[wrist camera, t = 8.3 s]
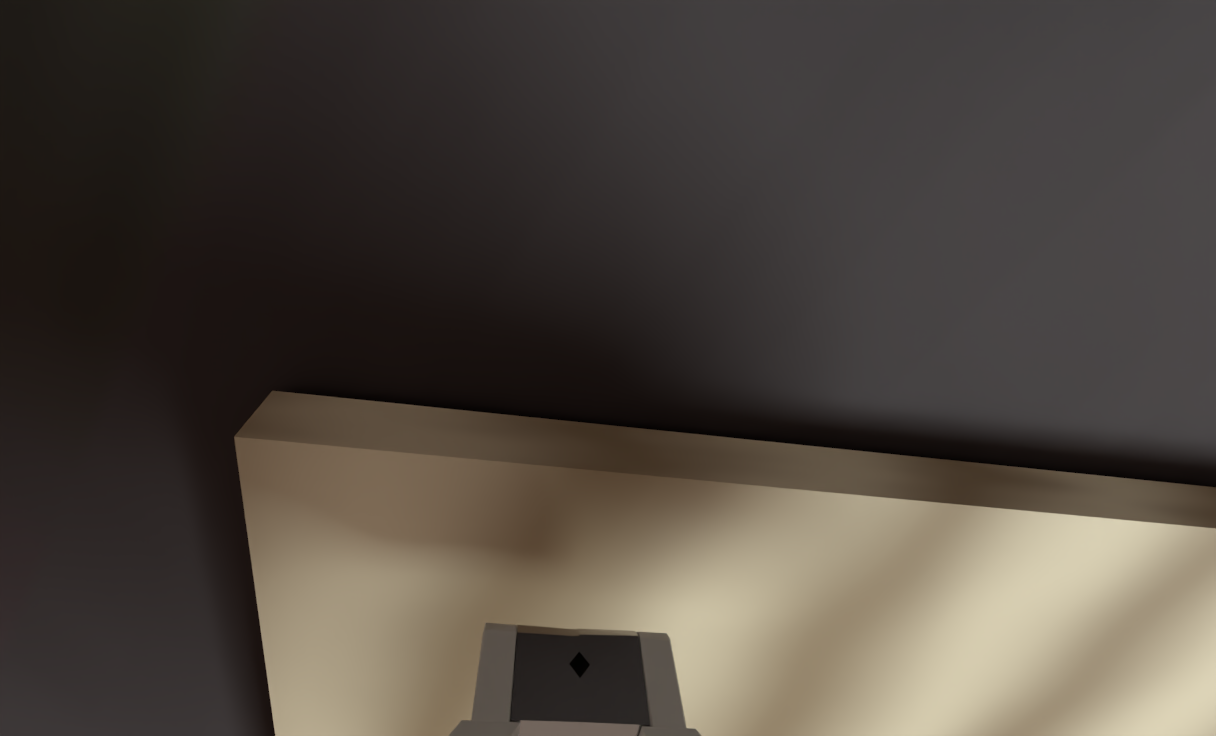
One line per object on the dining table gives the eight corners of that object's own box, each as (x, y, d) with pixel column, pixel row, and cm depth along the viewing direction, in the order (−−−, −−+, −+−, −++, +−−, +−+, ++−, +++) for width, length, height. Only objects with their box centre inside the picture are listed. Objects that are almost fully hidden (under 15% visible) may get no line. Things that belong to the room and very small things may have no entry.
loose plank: (1371, 503, 14) (1452, 550, 13) (1103, 799, 20) (1141, 854, 19) (271, 390, 12) (234, 437, 10) (310, 773, 17) (289, 835, 16)
